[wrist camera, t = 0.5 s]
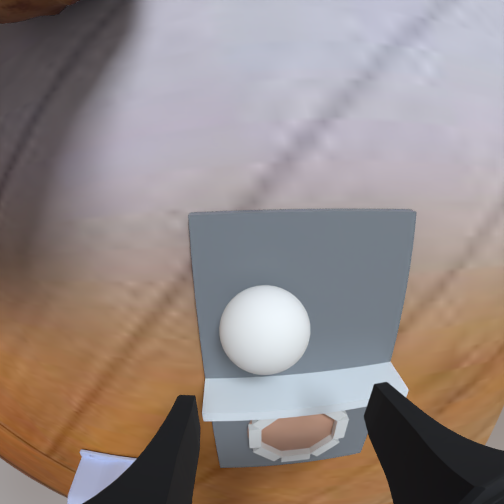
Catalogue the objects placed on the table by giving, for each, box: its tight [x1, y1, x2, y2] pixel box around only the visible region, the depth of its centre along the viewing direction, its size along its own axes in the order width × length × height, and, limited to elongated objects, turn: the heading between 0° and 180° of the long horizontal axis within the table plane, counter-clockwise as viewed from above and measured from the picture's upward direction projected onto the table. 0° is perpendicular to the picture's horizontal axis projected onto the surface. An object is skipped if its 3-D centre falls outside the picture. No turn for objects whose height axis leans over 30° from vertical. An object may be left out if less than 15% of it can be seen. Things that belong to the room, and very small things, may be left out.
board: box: [188, 209, 416, 468], centre depth 20 cm, size 14×24×4 cm, turn 1°
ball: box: [219, 285, 310, 375], centre depth 17 cm, size 5×5×5 cm
